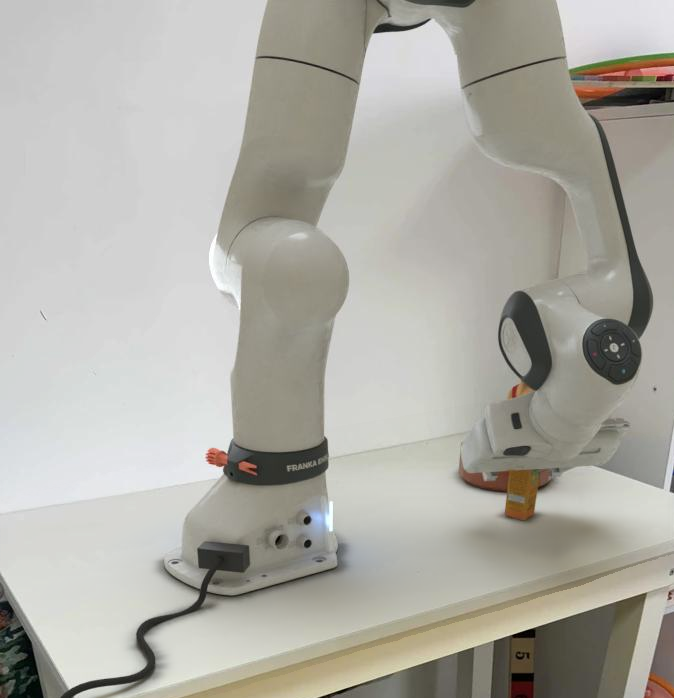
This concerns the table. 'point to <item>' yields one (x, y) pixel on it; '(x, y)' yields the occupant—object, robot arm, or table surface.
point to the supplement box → (522, 493)
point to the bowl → (500, 481)
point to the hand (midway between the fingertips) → (520, 474)
